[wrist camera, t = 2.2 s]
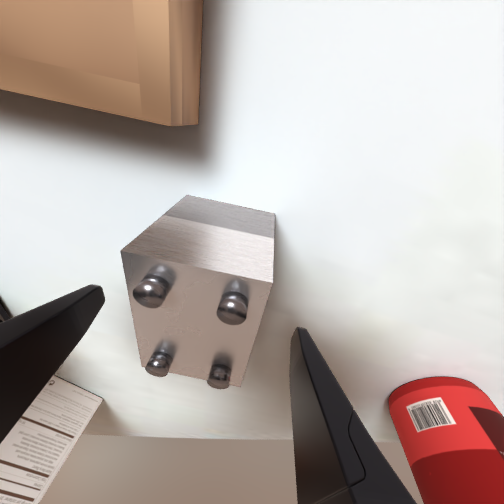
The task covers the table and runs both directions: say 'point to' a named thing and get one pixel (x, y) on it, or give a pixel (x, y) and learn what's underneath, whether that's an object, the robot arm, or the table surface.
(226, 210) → the housing
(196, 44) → the wooden tray
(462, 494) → the canned food
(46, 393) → the supplement box
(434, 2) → the table surface
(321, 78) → the table surface
